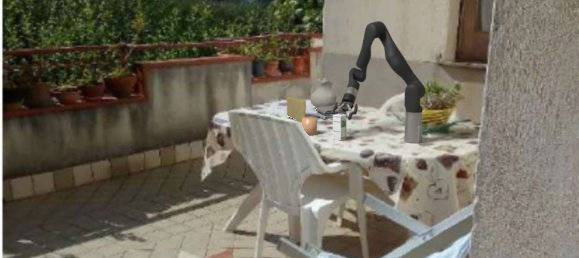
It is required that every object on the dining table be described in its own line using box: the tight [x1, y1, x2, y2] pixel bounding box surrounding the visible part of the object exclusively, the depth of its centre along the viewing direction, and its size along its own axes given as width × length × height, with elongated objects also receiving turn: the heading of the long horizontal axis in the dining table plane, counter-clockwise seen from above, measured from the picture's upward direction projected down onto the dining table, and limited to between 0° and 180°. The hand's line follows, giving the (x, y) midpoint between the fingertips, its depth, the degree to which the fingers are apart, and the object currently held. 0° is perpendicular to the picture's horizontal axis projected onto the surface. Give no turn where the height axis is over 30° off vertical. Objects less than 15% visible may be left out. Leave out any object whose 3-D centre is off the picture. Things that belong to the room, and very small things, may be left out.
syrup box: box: [332, 114, 347, 141], centre depth 331 cm, size 6×6×14 cm
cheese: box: [286, 96, 307, 123], centre depth 387 cm, size 22×10×15 cm, turn 19°
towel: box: [315, 105, 348, 121], centre depth 398 cm, size 15×18×8 cm
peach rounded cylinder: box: [301, 116, 318, 137], centre depth 344 cm, size 9×9×10 cm
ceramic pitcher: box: [309, 75, 337, 109], centre depth 429 cm, size 22×20×25 cm
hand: (341, 118), depth 333 cm, fingers open, 8 cm apart
